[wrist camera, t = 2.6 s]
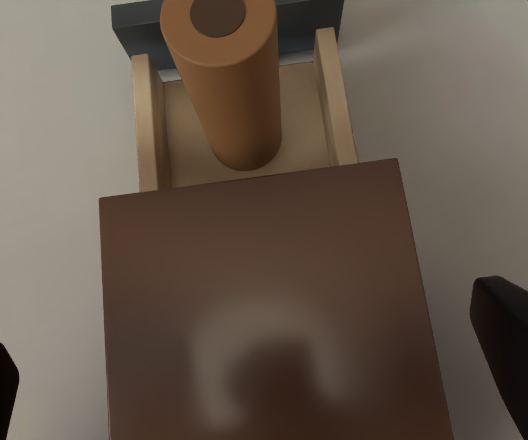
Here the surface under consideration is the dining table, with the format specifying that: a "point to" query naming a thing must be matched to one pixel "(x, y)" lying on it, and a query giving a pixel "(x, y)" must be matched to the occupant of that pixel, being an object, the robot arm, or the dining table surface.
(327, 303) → the cabinet
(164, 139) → the drawer
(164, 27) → the paper roll
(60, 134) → the dining table surface
